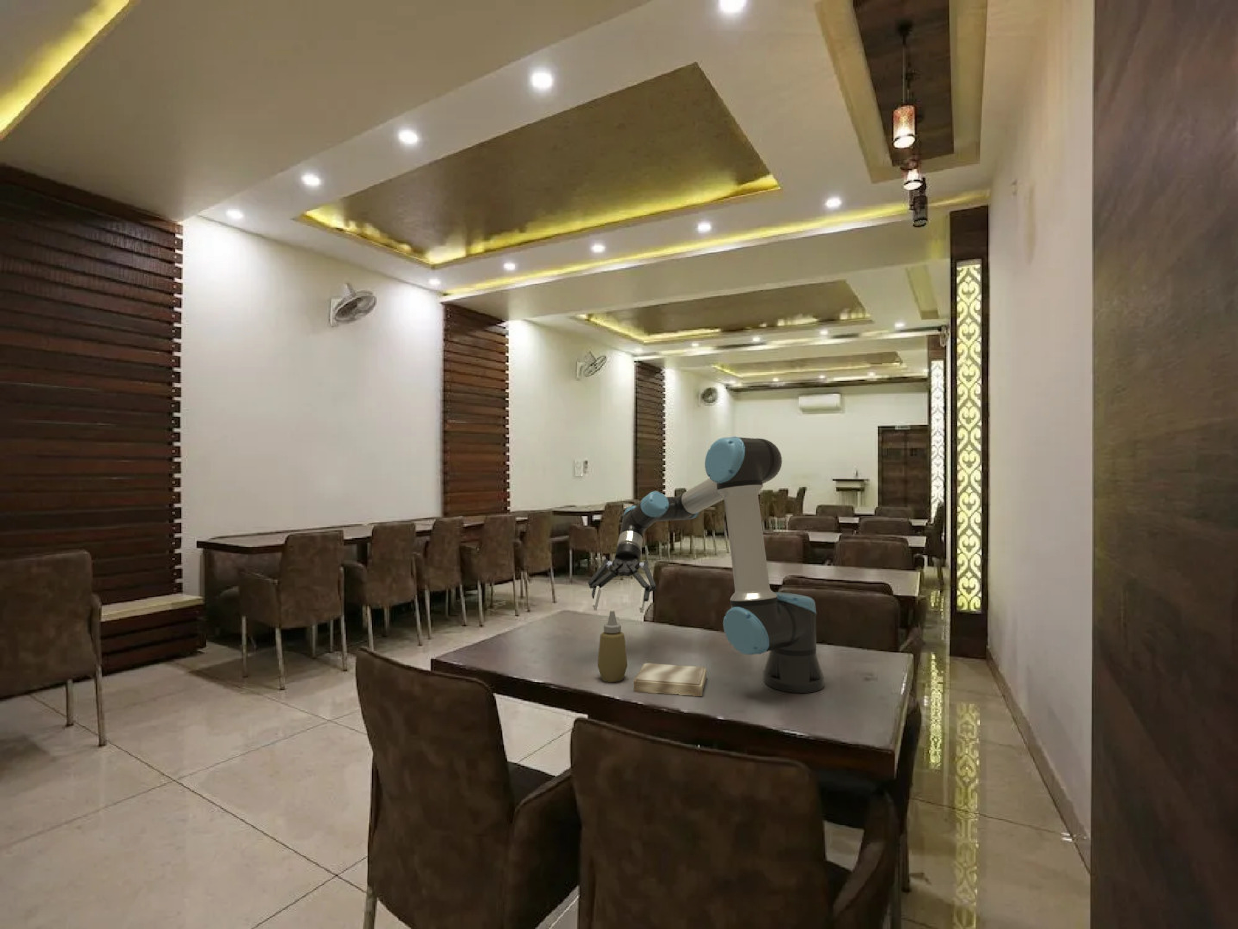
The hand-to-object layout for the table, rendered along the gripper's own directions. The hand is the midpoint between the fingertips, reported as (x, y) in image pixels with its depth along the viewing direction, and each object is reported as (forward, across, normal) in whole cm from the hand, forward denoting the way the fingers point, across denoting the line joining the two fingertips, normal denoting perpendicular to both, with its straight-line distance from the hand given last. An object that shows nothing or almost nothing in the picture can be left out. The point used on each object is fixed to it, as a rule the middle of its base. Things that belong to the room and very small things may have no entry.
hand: (617, 609), depth 166 cm
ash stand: (+19, -17, -5) cm, 25 cm away
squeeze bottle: (+18, -1, -6) cm, 19 cm away
